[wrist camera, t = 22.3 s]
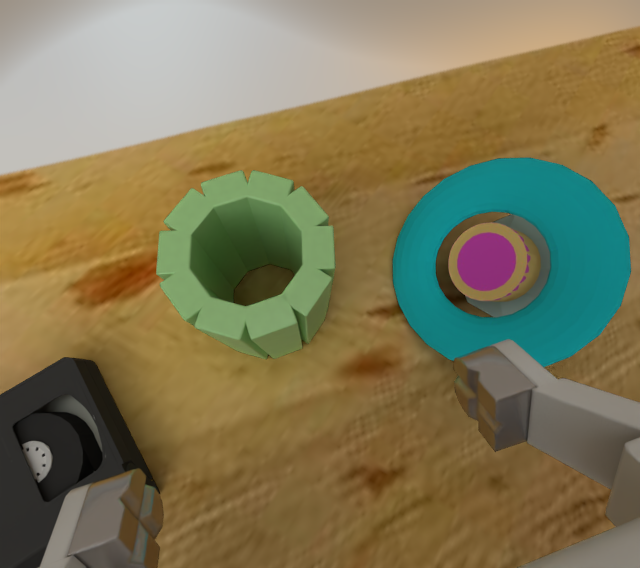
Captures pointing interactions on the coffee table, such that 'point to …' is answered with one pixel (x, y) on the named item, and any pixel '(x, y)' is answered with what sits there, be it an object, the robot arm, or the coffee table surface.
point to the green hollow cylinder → (248, 261)
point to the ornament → (514, 260)
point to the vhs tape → (55, 452)
